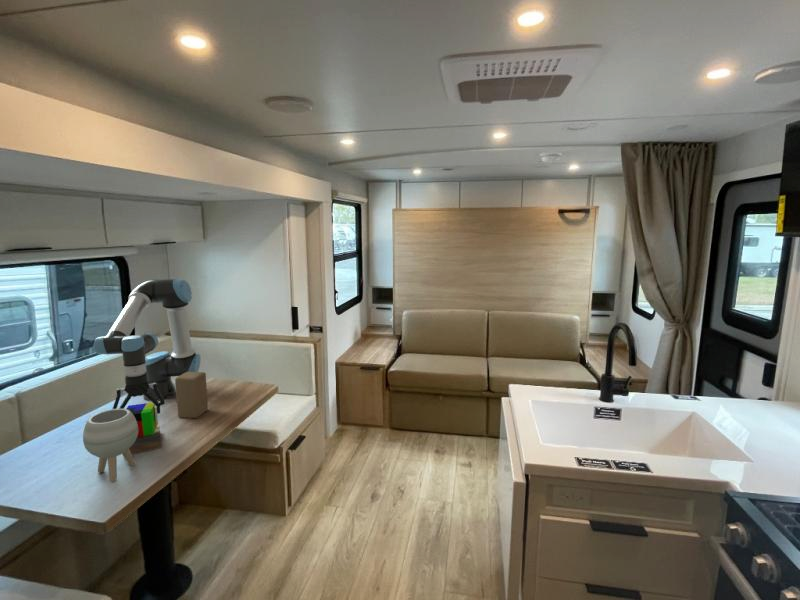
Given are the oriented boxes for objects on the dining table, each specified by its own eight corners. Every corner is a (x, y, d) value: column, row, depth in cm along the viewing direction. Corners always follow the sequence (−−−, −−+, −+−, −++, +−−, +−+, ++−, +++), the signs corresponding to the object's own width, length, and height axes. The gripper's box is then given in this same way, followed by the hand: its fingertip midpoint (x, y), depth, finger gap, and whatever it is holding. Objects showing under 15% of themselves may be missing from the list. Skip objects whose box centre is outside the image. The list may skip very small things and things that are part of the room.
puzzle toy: (131, 427, 169) (128, 405, 167) (158, 423, 172) (155, 401, 171) (124, 438, 160) (121, 415, 158) (153, 434, 163) (150, 411, 161)
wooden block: (209, 409, 198) (206, 371, 195) (197, 419, 189) (194, 379, 185) (190, 408, 199) (187, 370, 196) (177, 417, 190) (174, 377, 186)
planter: (85, 471, 146) (78, 415, 142) (136, 455, 157) (131, 402, 154) (91, 492, 135) (84, 431, 131) (146, 473, 146) (141, 416, 142)
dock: (124, 439, 169) (123, 427, 168) (160, 432, 176) (158, 420, 175) (123, 456, 157) (121, 443, 156) (161, 447, 164) (160, 435, 163)
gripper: (99, 382, 152) (105, 435, 156) (169, 371, 165) (173, 421, 168) (101, 376, 158) (106, 427, 162) (168, 366, 171) (172, 414, 175)
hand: (140, 424), depth 165 cm, fingers closed on puzzle toy, 11 cm apart
